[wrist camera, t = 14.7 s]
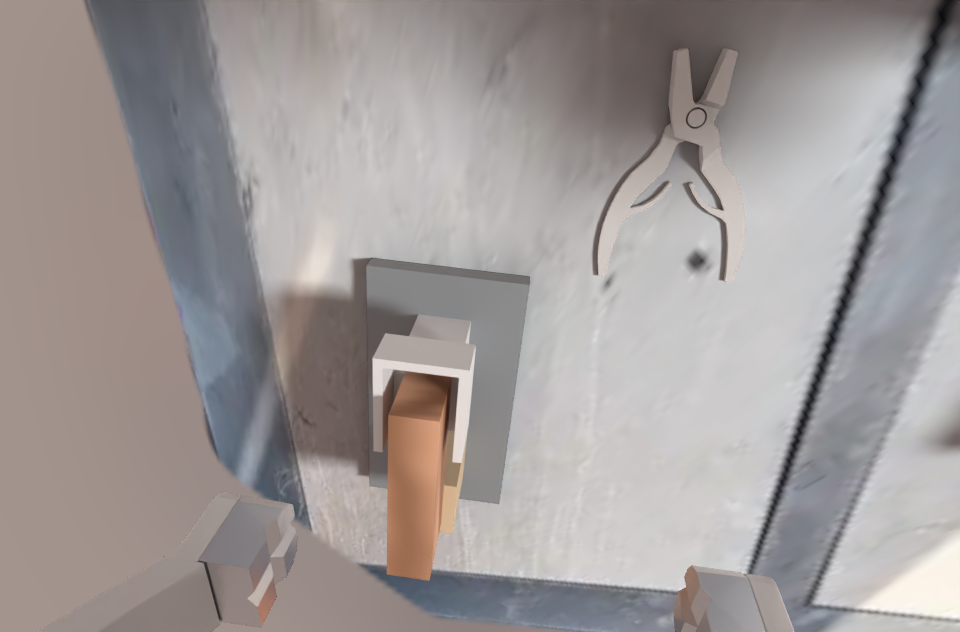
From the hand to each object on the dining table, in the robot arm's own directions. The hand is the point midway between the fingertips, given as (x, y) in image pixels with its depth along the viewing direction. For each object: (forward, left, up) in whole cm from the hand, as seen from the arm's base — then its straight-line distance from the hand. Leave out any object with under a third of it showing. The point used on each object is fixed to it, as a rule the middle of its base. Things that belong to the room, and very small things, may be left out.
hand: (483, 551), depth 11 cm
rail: (+5, +18, -22) cm, 29 cm away
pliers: (-10, -2, -31) cm, 32 cm away
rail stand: (+5, +18, -30) cm, 35 cm away
